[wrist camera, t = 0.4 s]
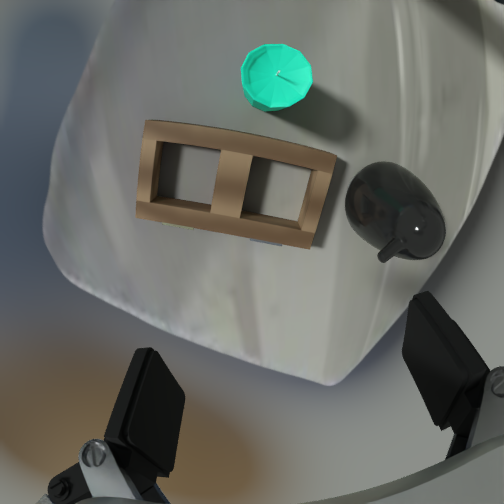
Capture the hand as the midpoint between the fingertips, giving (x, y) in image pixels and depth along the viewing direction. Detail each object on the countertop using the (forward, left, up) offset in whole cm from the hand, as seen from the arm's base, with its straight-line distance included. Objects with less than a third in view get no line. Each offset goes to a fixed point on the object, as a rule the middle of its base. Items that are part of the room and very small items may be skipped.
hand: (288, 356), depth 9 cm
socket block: (0, -3, -28) cm, 28 cm away
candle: (-12, -1, -28) cm, 30 cm away
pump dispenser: (-2, +15, -28) cm, 31 cm away
